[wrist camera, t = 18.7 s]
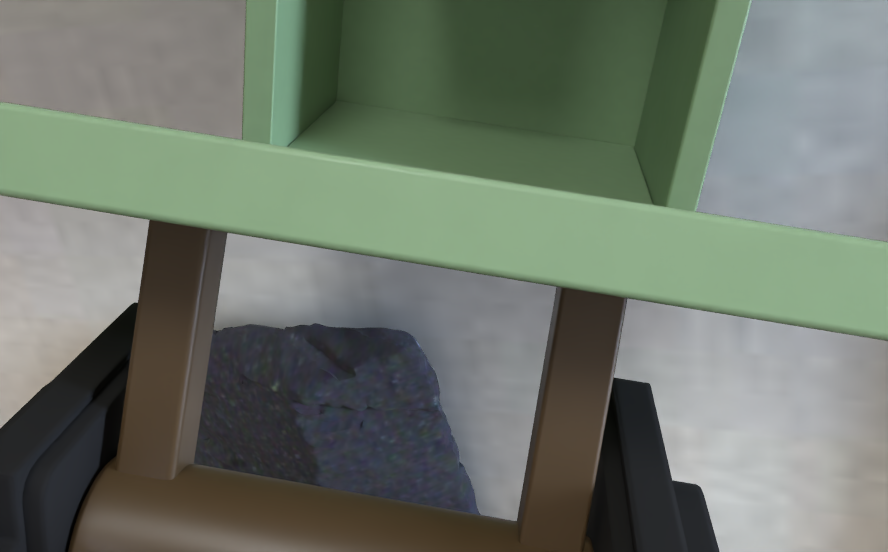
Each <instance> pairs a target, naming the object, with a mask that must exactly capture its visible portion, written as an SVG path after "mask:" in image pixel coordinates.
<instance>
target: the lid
mask: <svg viewBox="0 0 888 552" xmlns="http://www.w3.org/2000/svg"><path fill="white" fill-rule="evenodd" d="M0 195H2V196H8V197H14V198H20V199H26V200H32V201H39V202H45V203H51V204H57V205H63V206H69V207H75V208H81V209H87V210H93V211H99V212H106V213H112V214H118V215H124V216H130V217H136V218H142V219H148V220H150V221H149V229H148V236H147V243H146V250H145V257H144V264H143V272H142V279H141V286H140V293H139V300H138V307H137V314H136V322H135V329H134V336H133V343H132V350H131V357H130V364H129V372H128V379H127V386H126V393H125V400H124V407H123V414H122V422H121V429H120V436H119V443H118V450H117V456H116V457H114V458H113V459H111V460H110V461H109V462H108V463H107V464H106V465H105V466H104V468H103V469H102V470H101V471H100V473H99V474H98V476H97V477H96V479H95V480H94V482H93V484H92V485H91V487H90V489H89V491H88V493H87V495H86V497H85V499H84V502H83V504H82V506H81V509H80V511H79V514H78V517H77V520H76V523H75V526H74V529H73V533H72V537H71V541H70V545H69V550H68V552H594V550H593V546H592V542H591V539H590V538H589V537H588V536H586V532H587V526H588V521H589V515H590V509H591V503H592V498H593V492H594V486H595V481H596V475H597V469H598V463H599V458H600V452H601V446H602V441H603V435H604V429H605V423H606V418H607V412H608V406H609V400H610V395H611V389H612V383H613V378H614V372H615V366H616V360H617V355H618V349H619V343H620V337H621V332H622V326H623V320H624V315H625V309H626V303H627V298H630V299H636V300H642V301H648V302H654V303H660V304H666V305H672V306H678V307H684V308H691V309H697V310H703V311H709V312H715V313H721V314H727V315H733V316H739V317H745V318H751V319H758V320H764V321H770V322H776V323H782V324H788V325H794V326H800V327H806V328H812V329H818V330H825V331H831V332H837V333H843V334H849V335H855V336H861V337H867V338H873V339H879V340H886V341H888V242H885V241H878V240H872V239H866V238H859V237H853V236H847V235H840V234H834V233H828V232H821V231H815V230H809V229H802V228H796V227H790V226H783V225H777V224H771V223H765V222H758V221H752V220H746V219H739V218H733V217H727V216H720V215H714V214H708V213H701V212H695V211H689V210H682V209H676V208H670V207H663V206H657V205H651V204H644V203H638V202H632V201H625V200H619V199H613V198H606V197H600V196H594V195H587V194H581V193H575V192H568V191H562V190H556V189H550V188H543V187H537V186H531V185H524V184H518V183H512V182H505V181H499V180H493V179H486V178H480V177H474V176H467V175H461V174H455V173H448V172H442V171H436V170H429V169H423V168H417V167H410V166H404V165H398V164H391V163H385V162H379V161H372V160H366V159H360V158H354V157H347V156H341V155H335V154H328V153H322V152H316V151H309V150H303V149H297V148H290V147H284V146H278V145H271V144H265V143H259V142H252V141H246V140H240V139H233V138H227V137H221V136H214V135H208V134H202V133H195V132H189V131H183V130H176V129H170V128H164V127H158V126H151V125H145V124H139V123H132V122H126V121H120V120H113V119H107V118H101V117H94V116H88V115H82V114H75V113H69V112H63V111H56V110H50V109H44V108H37V107H31V106H25V105H18V104H12V103H6V102H0ZM227 233H234V234H240V235H246V236H252V237H258V238H264V239H270V240H276V241H282V242H288V243H294V244H301V245H307V246H313V247H319V248H325V249H331V250H337V251H343V252H349V253H355V254H361V255H368V256H374V257H380V258H386V259H392V260H398V261H404V262H410V263H416V264H422V265H429V266H435V267H441V268H447V269H453V270H459V271H465V272H471V273H477V274H483V275H489V276H496V277H502V278H508V279H514V280H520V281H526V282H532V283H538V284H544V285H550V286H556V287H557V288H556V294H555V300H554V306H553V312H552V318H551V324H550V330H549V336H548V341H547V347H546V353H545V359H544V365H543V371H542V377H541V383H540V389H539V394H538V400H537V406H536V412H535V418H534V424H533V430H532V436H531V442H530V448H529V453H528V459H527V465H526V471H525V477H524V483H523V489H522V495H521V501H520V507H519V512H518V518H517V522H516V521H511V520H505V519H499V518H494V517H488V516H483V515H477V514H472V513H466V512H460V511H455V510H449V509H444V508H438V507H432V506H427V505H421V504H416V503H410V502H405V501H399V500H393V499H388V498H382V497H377V496H371V495H365V494H360V493H354V492H349V491H343V490H337V489H332V488H326V487H321V486H315V485H310V484H304V483H298V482H293V481H287V480H282V479H276V478H270V477H265V476H259V475H254V474H248V473H243V472H237V471H231V470H226V469H220V468H215V467H209V466H203V465H198V464H194V458H195V451H196V444H197V437H198V430H199V423H200V416H201V410H202V403H203V396H204V389H205V382H206V375H207V368H208V361H209V355H210V348H211V341H212V334H213V327H214V320H215V313H216V306H217V300H218V293H219V286H220V279H221V272H222V265H223V258H224V252H225V245H226V238H227Z"/></svg>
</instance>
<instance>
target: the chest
mask: <svg viewBox="0 0 888 552" xmlns="http://www.w3.org/2000/svg"><path fill="white" fill-rule="evenodd" d="M751 2H752V0H246V22H245V55H244V88H243V121H242V140H246V141H252V142H259V143H265V144H271V145H278V146H284V147H290V148H297V149H303V150H309V151H316V152H322V153H328V154H335V155H341V156H347V157H354V158H360V159H366V160H372V161H379V162H385V163H391V164H398V165H404V166H410V167H417V168H423V169H429V170H436V171H442V172H448V173H455V174H461V175H467V176H474V177H480V178H486V179H493V180H499V181H505V182H512V183H518V184H524V185H531V186H537V187H543V188H550V189H556V190H562V191H568V192H575V193H581V194H587V195H594V196H600V197H606V198H613V199H619V200H625V201H632V202H638V203H644V204H651V205H657V206H663V207H670V208H676V209H682V210H689V211H695V212H696V209H697V205H698V201H699V198H700V194H701V190H702V186H703V183H704V179H705V175H706V171H707V168H708V164H709V160H710V156H711V153H712V149H713V145H714V141H715V138H716V134H717V130H718V126H719V123H720V119H721V115H722V111H723V107H724V104H725V100H726V96H727V92H728V89H729V85H730V81H731V77H732V74H733V70H734V66H735V62H736V59H737V55H738V51H739V47H740V44H741V40H742V36H743V32H744V29H745V25H746V21H747V17H748V14H749V10H750V6H751Z"/></svg>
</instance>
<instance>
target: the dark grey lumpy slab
mask: <svg viewBox="0 0 888 552" xmlns="http://www.w3.org/2000/svg"><path fill="white" fill-rule="evenodd" d="M439 395H440V391H439V386H438V381H437V377H436V374H435V372H434V370H433V368H432V367H431V365H430V364H429V362H428V360H427V357H426V356H425V354H424V352H423V351H422V349H421V347H420V345H419V344H418V342H417V341H416V339H415V338H414V337H413V336H411V335H410V334H409V333H407V332H404V331H399V330H391V329H387V328H336V327H327V326H323V325H320V324H315V323H314V324H313V325H311V326H308V325H299V326H295V327H286V328H285V329H279V328H272V327H267V326H261V325H251V324H250V325H245V326H240V327H235V328H233V327H229V328H224V329H223V330H222V331H214V330H213V334H212V341H211V348H210V355H209V361H208V368H207V375H206V382H205V389H204V396H203V403H202V410H201V416H200V423H199V430H198V437H197V444H196V451H195V458H194V464H198V465H203V466H209V467H215V468H220V469H226V470H231V471H237V472H243V473H248V474H254V475H259V476H265V477H270V478H276V479H282V480H287V481H293V482H298V483H304V484H310V485H315V486H321V487H326V488H332V489H337V490H343V491H349V492H354V493H360V494H365V495H371V496H377V497H382V498H388V499H393V500H399V501H405V502H410V503H416V504H421V505H427V506H432V507H438V508H444V509H449V510H455V511H460V512H466V513H472V514H477V515H480V514H479V512H478V509H477V506H476V501H475V495H474V490H473V488H472V485H471V481H470V479H469V476H468V475H467V474H466V471H465V468H464V466H463V465H462V464H461V463H460V462H459V451H458V447H457V445H456V443H455V440H454V438H453V436H452V435H451V429H450V427H449V424H448V422H447V419H446V416H445V414H444V412H443V411H442V408H441V405H440V402H439Z"/></svg>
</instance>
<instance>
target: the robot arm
mask: <svg viewBox="0 0 888 552" xmlns="http://www.w3.org/2000/svg"><path fill="white" fill-rule="evenodd" d="M137 307H138V303H133V304H132V305H130V306H129V307H128V308H127V309H126V310H125V311H124V312H123V313H122V314H121V315H120V316H119V317H118V318H117V319H116V320H115V321H114V322H113V323H112V324H111V325H109V326H108V327H107V328H106V329H105V330H104V331H103V332H102V333H101V334H100V335H99V336H98V337H97V338H96V339H95V340H94V341H93V342H92V343H91V344H90V345H89V346H88V347H87V348H86V349H85V350H84V351H83V352H81V353H80V354H79V355H78V356H77V357H76V358H75V359H74V360H73V361H72V362H71V363H70V364H69V365H68V366H67V367H66V368H65V369H64V370H63V371H62V372H61V373H60V374H59V375H58V376H57V377H56V378H55V379H54V380H52V381H51V382H50V383H49V384H47V385H46V386H44V387H43V388H42V389H41V390H40V391H39V392H38V393H37V394H36V395H35V396H34V397H33V398H32V399H31V400H30V401H29V402H28V403H26V404H25V405H24V406H23V407H22V408H21V409H20V410H19V411H18V412H17V413H16V414H15V415H14V416H13V417H12V418H11V419H10V420H9V421H8V422H7V423H6V424H5V425H4V426H3V427H2V428H0V552H68V550H69V545H70V541H71V537H72V533H73V529H74V526H75V523H76V520H77V517H78V514H79V511H80V509H81V506H82V504H83V502H84V499H85V497H86V495H87V493H88V491H89V489H90V487H91V485H92V484H93V482H94V480H95V479H96V477H97V476H98V474H99V473H100V471H101V470H102V469H103V468H104V466H105V465H106V464H107V463H108V462H109V461H110V460H111V459H113V458H114V457H116V456H117V450H118V443H119V436H120V429H121V422H122V414H123V407H124V400H125V393H126V386H127V379H128V372H129V364H130V357H131V350H132V343H133V336H134V329H135V322H136V314H137ZM586 536H588V537H589V538H590V539H591V542H592V546H593V550H594V552H719V548H718V545H717V541H716V537H715V534H714V530H713V527H712V523H711V519H710V516H709V512H708V509H707V505H706V501H705V498H704V494H703V492H702V490H701V487H699V486H698V485H696V484H690V483H684V482H678V481H672V478H671V473H670V469H669V465H668V460H667V456H666V451H665V447H664V443H663V438H662V434H661V429H660V425H659V421H658V416H657V412H656V407H655V403H654V399H653V394H652V390H651V386H650V384H649V383H644V382H637V381H631V380H625V379H618V378H613V383H612V389H611V395H610V400H609V406H608V412H607V418H606V423H605V429H604V435H603V441H602V446H601V452H600V458H599V463H598V469H597V475H596V481H595V486H594V492H593V498H592V503H591V509H590V515H589V521H588V526H587V532H586Z"/></svg>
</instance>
